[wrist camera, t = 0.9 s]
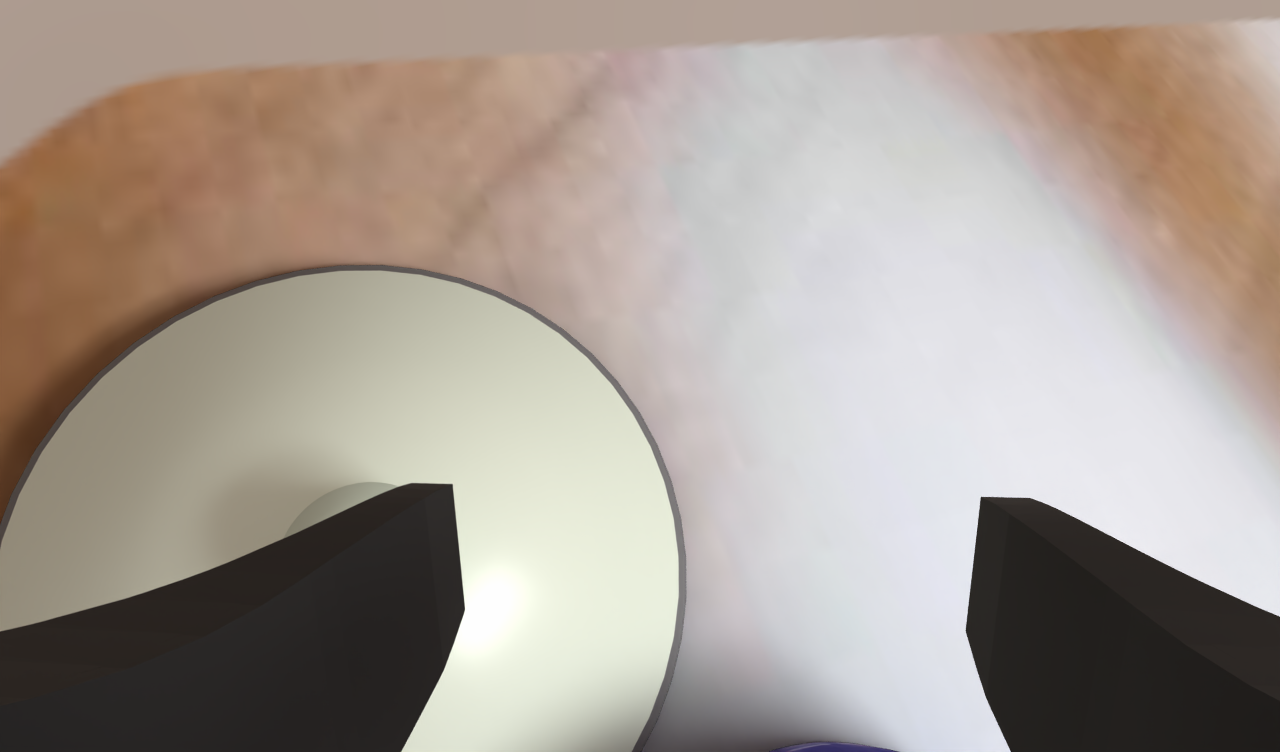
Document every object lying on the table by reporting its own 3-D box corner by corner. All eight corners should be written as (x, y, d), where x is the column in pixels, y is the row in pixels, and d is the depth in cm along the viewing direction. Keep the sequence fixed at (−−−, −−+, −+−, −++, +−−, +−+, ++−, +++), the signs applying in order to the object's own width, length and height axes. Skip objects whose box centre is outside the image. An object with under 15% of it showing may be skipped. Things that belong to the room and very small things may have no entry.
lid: (286, 1108, 18) (261, 1209, 15) (-152, 529, 19) (-260, 514, 16) (779, 605, 25) (831, 605, 22) (436, 182, 25) (440, 124, 22)
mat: (283, 1135, 19) (279, 1146, 18) (-176, 527, 19) (-189, 526, 19) (794, 606, 25) (800, 606, 25) (439, 168, 26) (440, 162, 26)
